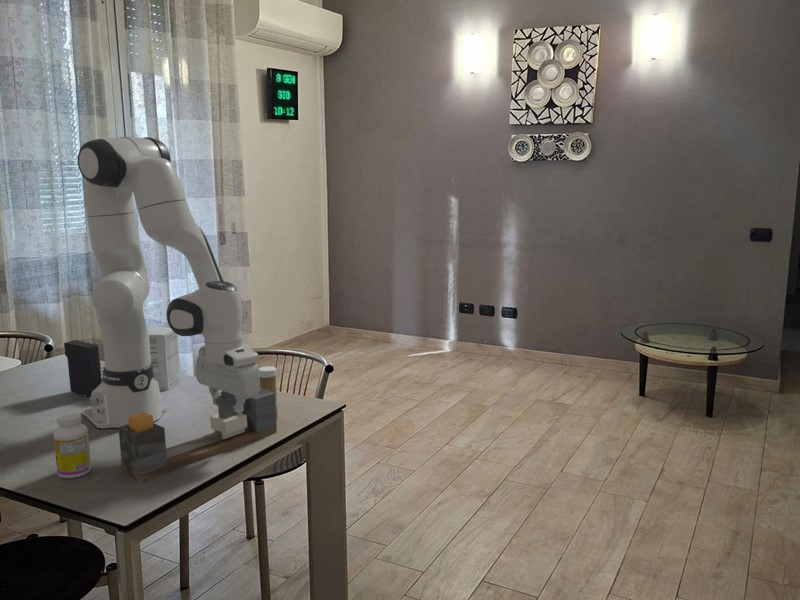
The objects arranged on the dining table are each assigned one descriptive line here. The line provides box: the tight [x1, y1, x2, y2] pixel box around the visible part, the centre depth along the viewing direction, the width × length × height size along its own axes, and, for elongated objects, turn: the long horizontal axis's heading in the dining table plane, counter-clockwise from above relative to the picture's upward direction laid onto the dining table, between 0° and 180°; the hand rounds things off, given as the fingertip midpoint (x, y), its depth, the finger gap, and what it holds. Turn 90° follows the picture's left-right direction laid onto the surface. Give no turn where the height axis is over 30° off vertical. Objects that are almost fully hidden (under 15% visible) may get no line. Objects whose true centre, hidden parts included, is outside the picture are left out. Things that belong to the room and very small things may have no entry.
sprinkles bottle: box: [258, 365, 279, 420], centre depth 182 cm, size 5×5×13 cm
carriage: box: [209, 391, 247, 439], centre depth 167 cm, size 6×6×10 cm
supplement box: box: [147, 326, 182, 391], centre depth 210 cm, size 10×9×17 cm
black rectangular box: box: [63, 339, 103, 398], centre depth 202 cm, size 11×4×15 cm, turn 58°
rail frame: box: [118, 388, 278, 482], centre depth 162 cm, size 8×36×10 cm, turn 139°
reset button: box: [128, 412, 155, 433], centre depth 150 cm, size 4×4×5 cm
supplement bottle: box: [52, 411, 92, 479], centre depth 150 cm, size 7×7×13 cm
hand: (228, 408), depth 167 cm, fingers open, 7 cm apart
